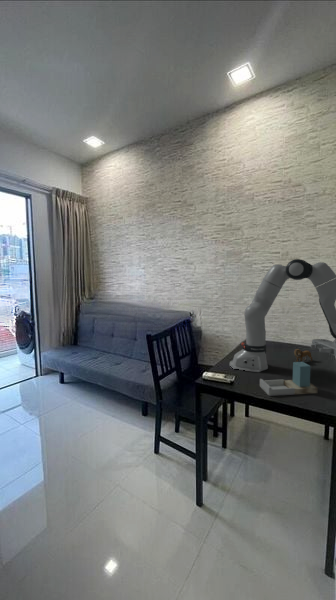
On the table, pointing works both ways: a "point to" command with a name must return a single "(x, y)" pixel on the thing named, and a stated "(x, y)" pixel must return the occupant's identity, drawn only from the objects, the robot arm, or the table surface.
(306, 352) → the lion figurine
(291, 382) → the birch plate
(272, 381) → the box
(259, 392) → the table surface
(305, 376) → the teal block
